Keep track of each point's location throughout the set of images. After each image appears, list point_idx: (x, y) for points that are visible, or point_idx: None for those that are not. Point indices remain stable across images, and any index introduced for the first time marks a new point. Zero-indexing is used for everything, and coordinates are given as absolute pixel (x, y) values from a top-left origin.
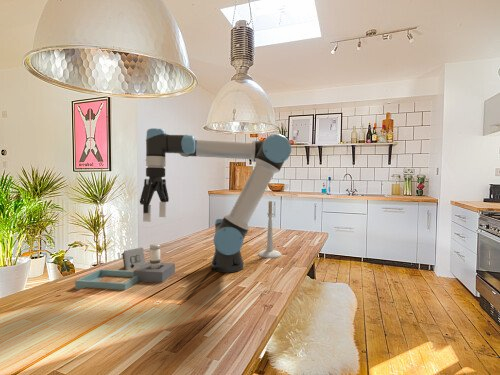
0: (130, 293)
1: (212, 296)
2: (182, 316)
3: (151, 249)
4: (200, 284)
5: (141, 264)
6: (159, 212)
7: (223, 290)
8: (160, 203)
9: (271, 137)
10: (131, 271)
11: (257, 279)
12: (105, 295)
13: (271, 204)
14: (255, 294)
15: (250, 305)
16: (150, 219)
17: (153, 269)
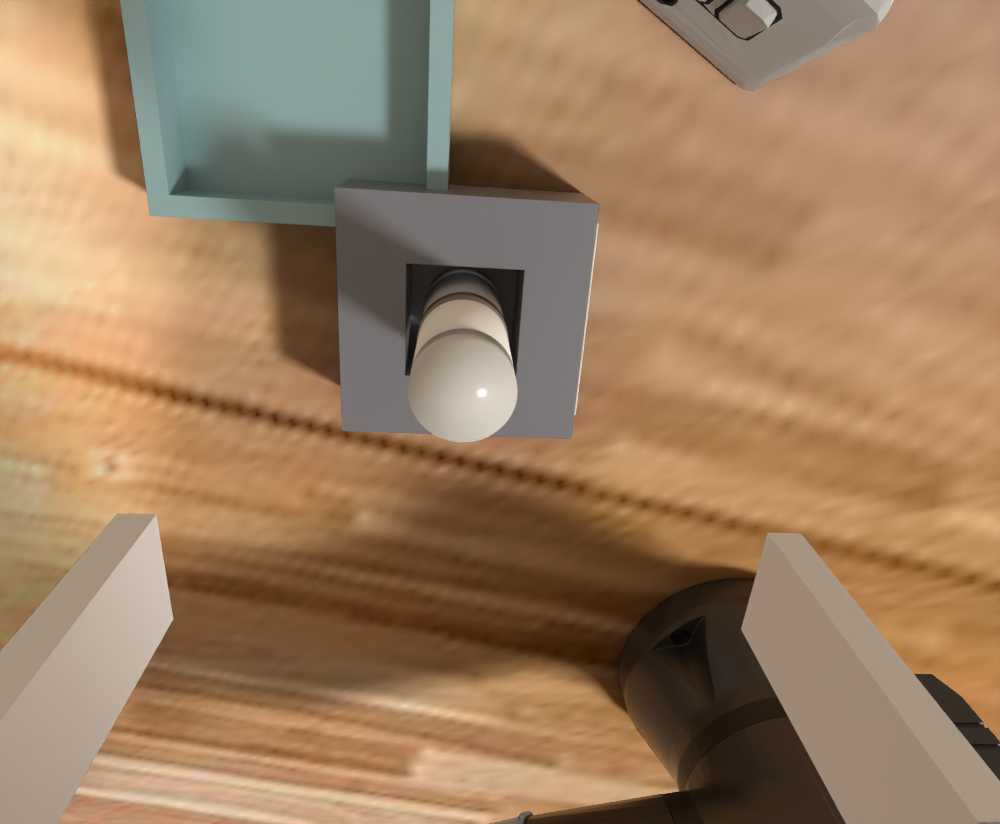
0: (173, 251)
1: (259, 676)
2: (11, 617)
3: (413, 362)
4: (407, 591)
5: (730, 58)
6: (810, 594)
7: (345, 703)
8: (933, 803)
9: None
10: (435, 109)
11: (520, 806)
12: (87, 87)
13: None
14: (327, 816)
15: (208, 812)
16: (152, 644)
17: (394, 339)
